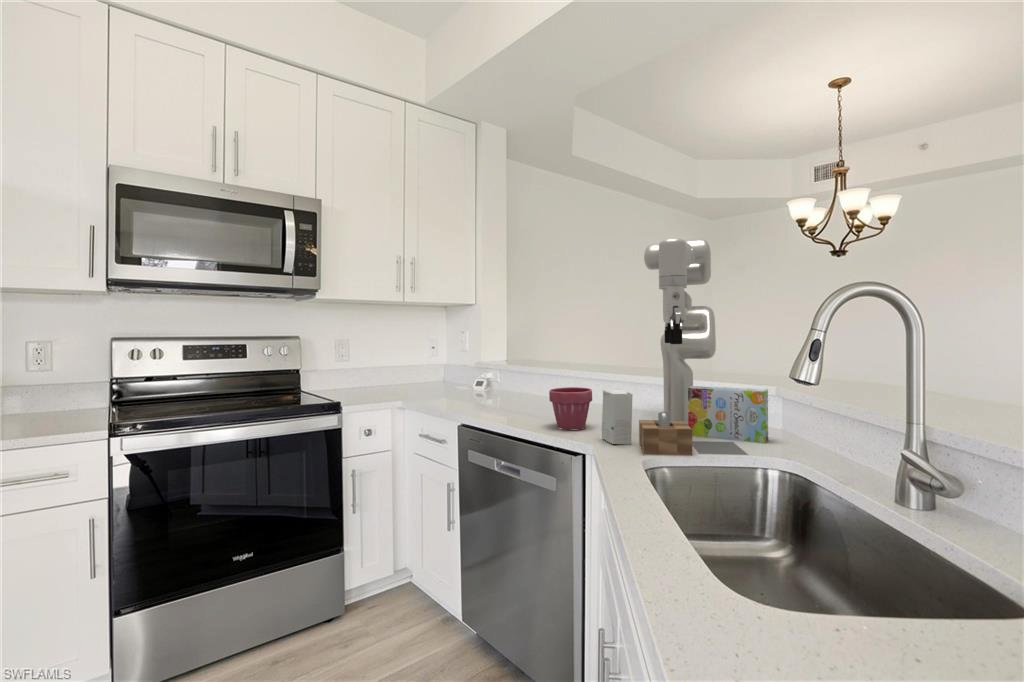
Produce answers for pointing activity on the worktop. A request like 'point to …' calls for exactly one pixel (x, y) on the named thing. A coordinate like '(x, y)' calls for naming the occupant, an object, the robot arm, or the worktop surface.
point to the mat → (717, 448)
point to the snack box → (728, 413)
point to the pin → (663, 419)
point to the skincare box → (617, 416)
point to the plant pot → (571, 406)
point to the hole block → (665, 438)
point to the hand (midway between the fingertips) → (673, 343)
